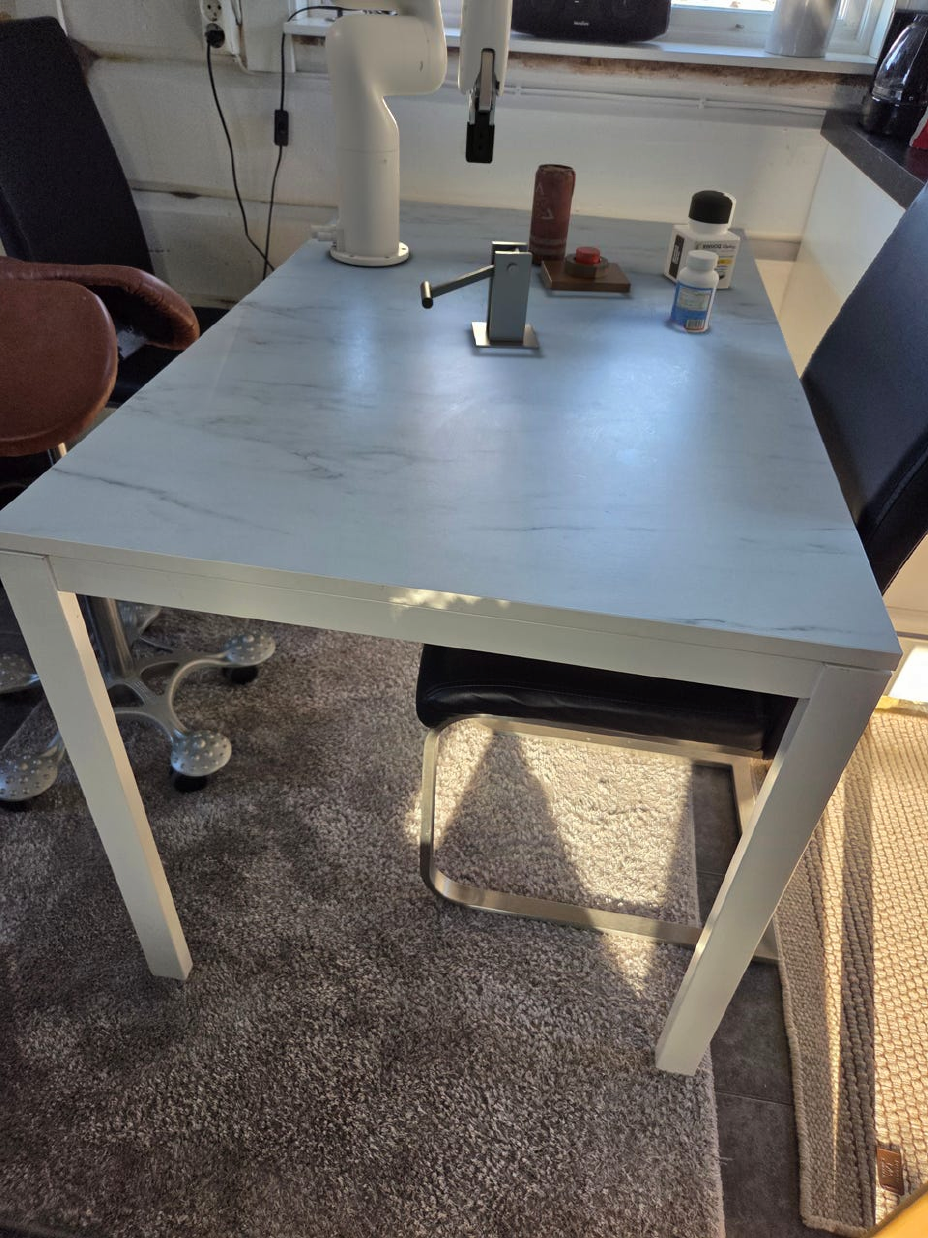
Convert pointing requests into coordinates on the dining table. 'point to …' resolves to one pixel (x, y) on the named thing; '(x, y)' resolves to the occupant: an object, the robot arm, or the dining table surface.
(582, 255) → the button
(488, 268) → the tap lever
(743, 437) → the dining table surface
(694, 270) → the pill bottle
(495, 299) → the grey lever stand
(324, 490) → the dining table surface
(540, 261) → the can
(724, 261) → the container
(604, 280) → the button block
